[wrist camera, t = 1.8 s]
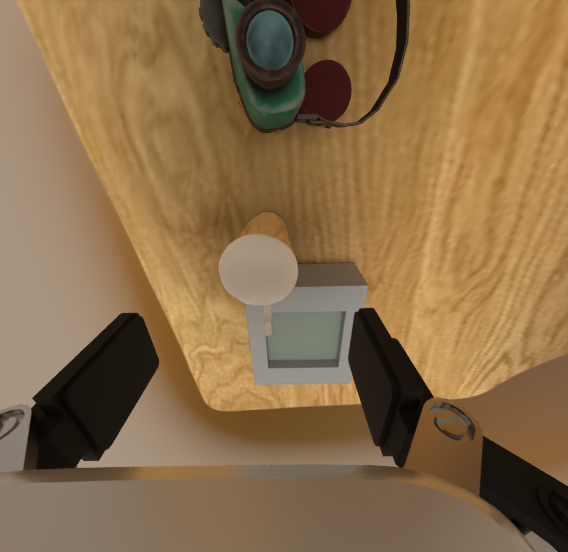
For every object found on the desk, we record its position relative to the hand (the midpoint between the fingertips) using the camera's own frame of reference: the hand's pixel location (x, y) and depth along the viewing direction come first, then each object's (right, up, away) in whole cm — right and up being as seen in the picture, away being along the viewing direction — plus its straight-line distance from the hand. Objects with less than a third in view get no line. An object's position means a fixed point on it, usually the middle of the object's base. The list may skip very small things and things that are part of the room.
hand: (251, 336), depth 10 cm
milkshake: (0, +7, +10) cm, 12 cm away
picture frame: (+3, -1, +14) cm, 15 cm away
